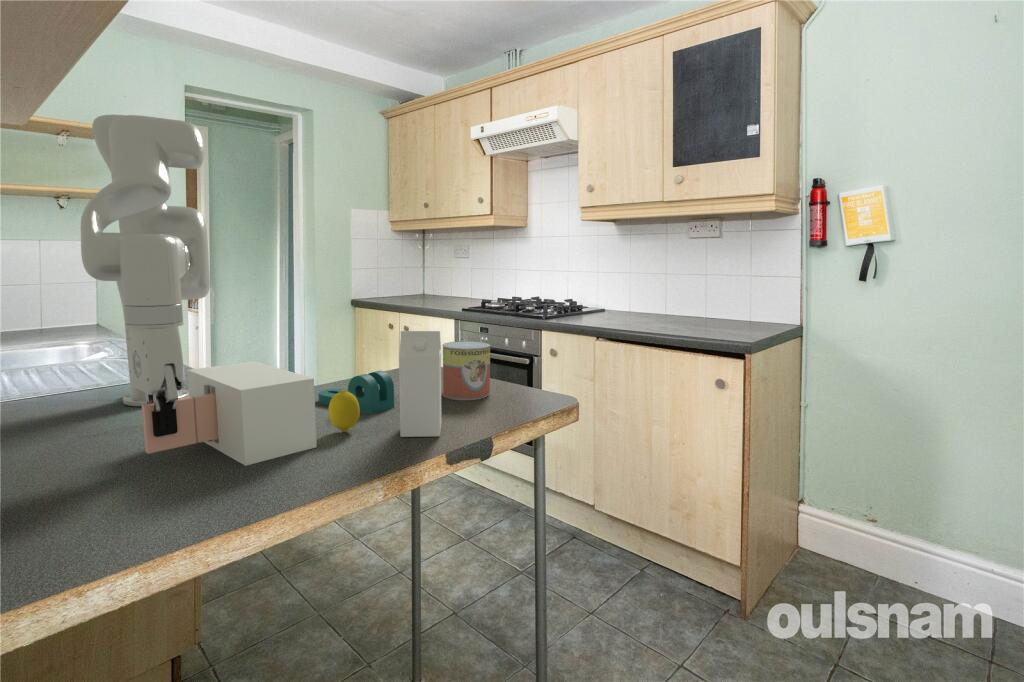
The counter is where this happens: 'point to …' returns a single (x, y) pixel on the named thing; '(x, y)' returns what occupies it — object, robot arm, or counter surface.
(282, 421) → the ticket dispenser
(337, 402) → the lemon
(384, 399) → the bracket
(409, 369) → the milk carton
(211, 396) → the strip
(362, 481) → the counter surface
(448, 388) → the canned food
